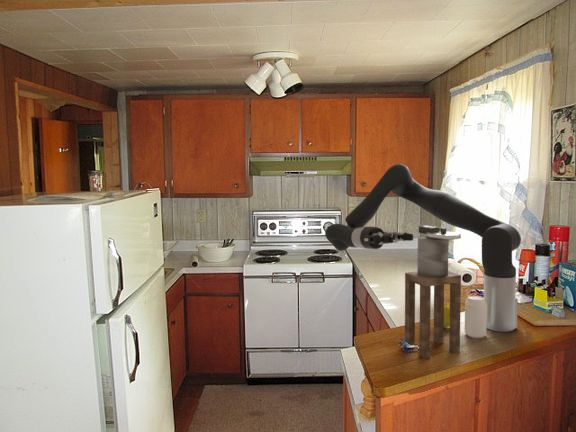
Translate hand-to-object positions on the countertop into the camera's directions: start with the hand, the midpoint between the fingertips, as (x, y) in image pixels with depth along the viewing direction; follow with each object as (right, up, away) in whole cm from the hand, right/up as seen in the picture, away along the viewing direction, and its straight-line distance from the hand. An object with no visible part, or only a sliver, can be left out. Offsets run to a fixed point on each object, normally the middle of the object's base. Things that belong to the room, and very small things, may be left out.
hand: (402, 238), depth 140 cm
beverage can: (+22, -30, -1) cm, 38 cm away
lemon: (+16, -30, +7) cm, 34 cm away
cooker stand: (+6, -31, -11) cm, 34 cm away
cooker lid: (+7, +1, -10) cm, 13 cm away
